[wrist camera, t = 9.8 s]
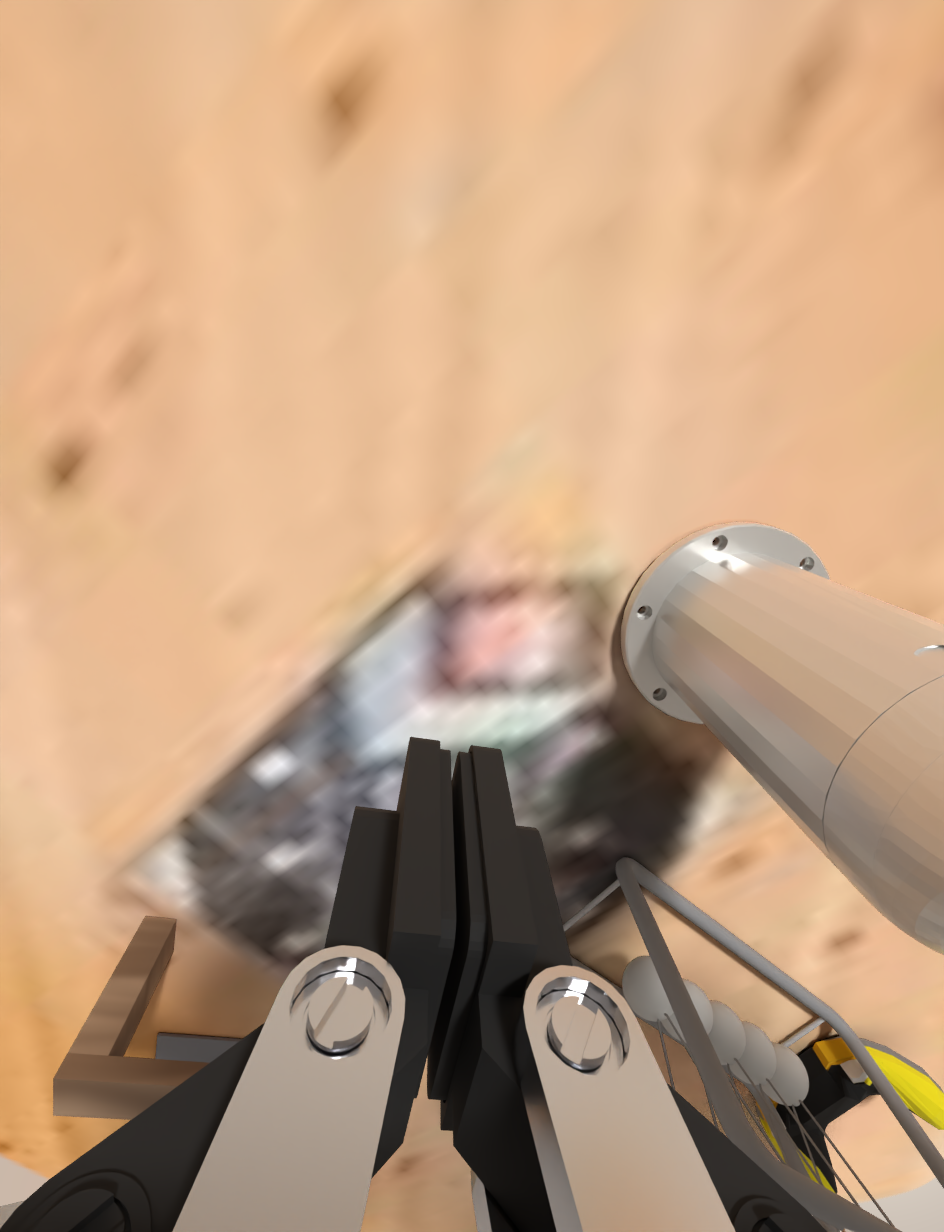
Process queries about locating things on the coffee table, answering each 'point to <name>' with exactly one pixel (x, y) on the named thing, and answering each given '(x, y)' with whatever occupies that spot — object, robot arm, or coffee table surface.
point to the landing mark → (191, 1047)
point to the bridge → (121, 1039)
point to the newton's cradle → (746, 1053)
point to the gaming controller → (850, 1095)
